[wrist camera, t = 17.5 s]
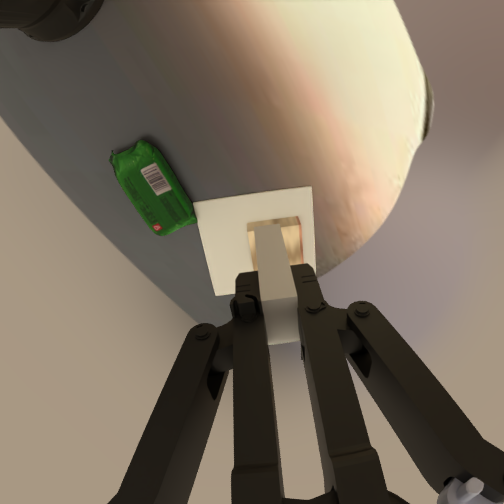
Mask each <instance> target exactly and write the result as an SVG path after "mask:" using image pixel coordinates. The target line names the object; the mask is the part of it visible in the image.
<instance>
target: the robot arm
mask: <svg viewBox="0 0 504 504" xmlns="http://www.w3.org/2000/svg"><path fill="white" fill-rule="evenodd" d="M103 1H104V0H0V28H18V29H19V30H21V31H23V32H24V33H25V34H26V35H27V36H28V37H30V38H32V39H34V40H38V41H47V42H54V41H60V40H63V39H66V38H68V37H70V36H72V35H74V34H76V33H77V32H79V31H80V30H81V29H82V28H84V27H85V26H86V25H87V24H88V23H89V22H90V21H91V20H92V18H93V17H94V16H95V15H96V13H97V12H98V10H99V9H100V7H101V5H102V3H103ZM254 235H255V245H256V256H257V266H258V271H251V272H243V273H239V274H238V276H237V277H236V279H235V297H234V298H233V299H232V300H231V302H230V308H231V312H232V317H233V319H232V320H231V321H229V322H228V323H227V324H224V325H222V326H219V327H217V328H216V327H215V326H214V325H212V324H209V323H201V324H198V325H196V326H194V327H193V328H191V329H190V331H189V332H188V334H187V336H186V338H185V341H184V343H183V345H182V347H181V349H180V352H179V354H178V356H177V358H176V361H175V363H174V365H173V367H172V369H171V372H170V374H169V376H168V378H167V381H166V383H165V385H164V387H163V389H162V392H161V394H160V396H159V398H158V401H157V403H156V405H155V407H154V410H153V412H152V414H151V416H150V419H149V421H148V423H147V425H146V428H145V430H144V432H143V435H142V437H141V439H140V442H139V444H138V446H137V449H136V451H135V453H134V455H133V458H132V460H131V463H130V465H129V467H128V470H127V472H126V474H125V477H124V479H123V481H122V484H121V487H120V489H119V491H118V493H117V494H116V495H115V496H114V497H113V498H112V499H111V501H110V502H109V503H108V504H187V502H188V499H189V496H190V493H191V490H192V487H193V484H194V481H195V478H196V474H197V472H198V469H199V465H200V462H201V459H202V456H203V453H204V450H205V447H206V444H207V440H208V437H209V434H210V431H211V428H212V425H213V421H214V418H215V415H216V412H217V409H218V406H219V402H220V399H221V396H222V393H223V390H224V386H225V383H226V380H227V376H228V374H229V370H230V369H233V407H234V408H233V417H234V468H233V470H232V474H231V497H232V499H231V500H232V504H409V503H408V502H406V501H405V500H404V499H402V498H400V497H399V496H398V495H396V494H394V493H392V492H390V491H388V490H387V487H386V484H385V479H384V475H383V471H382V468H381V464H380V460H379V456H378V454H377V452H376V450H375V449H374V448H373V447H372V446H371V444H370V441H369V437H368V433H367V429H366V426H365V422H364V419H363V415H362V411H361V408H360V404H359V401H358V397H357V394H356V390H355V387H354V384H353V380H352V377H351V374H350V370H349V367H348V364H347V360H348V361H349V363H350V364H351V366H352V367H353V369H354V370H355V372H356V373H357V375H358V376H359V378H360V379H361V381H362V382H363V384H364V385H365V387H366V388H367V390H368V392H369V393H370V394H371V396H372V398H373V399H374V401H375V402H376V404H377V405H378V407H379V408H380V410H381V411H382V413H383V415H384V416H385V417H386V419H387V421H388V422H389V424H390V425H391V427H392V428H393V430H394V432H395V433H396V435H397V436H398V438H399V439H400V441H401V442H402V444H403V446H404V447H405V449H406V450H407V452H408V453H409V455H410V457H411V458H412V460H413V461H414V463H415V464H416V466H417V468H418V469H419V471H420V472H421V474H422V475H423V477H424V478H425V479H426V481H427V482H428V484H429V485H430V486H431V487H432V488H433V489H434V490H435V491H436V492H437V493H438V494H439V496H438V500H437V504H503V503H504V452H503V451H502V450H500V449H499V448H497V447H495V446H494V445H492V444H491V443H489V442H487V441H486V440H484V439H483V438H482V436H481V435H480V434H479V432H478V431H477V430H476V428H475V427H474V426H473V425H472V423H471V422H470V420H469V419H468V418H467V417H466V415H465V414H464V413H463V411H462V410H461V409H460V407H459V406H458V405H457V404H456V402H455V401H454V400H453V399H452V397H451V396H450V395H449V394H448V392H447V391H446V390H445V389H444V388H443V386H442V385H441V384H440V382H439V381H438V380H437V379H436V377H435V376H434V375H433V374H432V373H431V371H430V370H429V369H428V368H427V366H426V365H425V364H424V363H423V362H422V360H421V359H420V358H419V357H418V356H417V354H416V353H415V352H414V351H413V350H412V348H411V347H410V346H409V345H408V344H407V342H406V341H405V340H404V339H403V338H402V337H401V336H400V334H399V333H398V332H397V331H396V330H395V328H394V327H393V326H392V325H391V324H390V323H389V322H388V320H387V319H386V318H385V317H384V316H383V315H382V314H381V312H380V311H379V310H378V309H377V308H376V307H375V306H374V305H373V304H372V303H369V302H367V301H357V302H354V303H352V304H350V305H349V307H348V309H339V308H334V307H332V306H330V305H328V303H327V302H326V301H325V300H324V298H323V295H322V292H321V289H320V286H319V283H318V281H317V277H316V274H315V271H314V269H313V267H311V266H310V265H309V264H308V263H304V264H297V265H290V263H289V259H288V255H287V251H286V247H285V243H284V239H283V235H282V231H281V227H280V224H272V225H265V226H257V227H254ZM294 341H301V359H302V360H303V362H304V368H305V373H306V378H307V384H308V389H309V394H310V400H311V405H312V411H313V417H314V422H315V428H316V433H317V439H318V445H319V451H320V457H321V463H322V469H323V475H324V487H325V494H323V495H321V496H318V497H316V498H313V499H310V500H300V499H290V498H285V495H284V487H283V478H282V468H281V458H280V449H279V439H278V429H277V420H276V411H275V401H274V392H273V382H272V374H271V364H270V354H269V348H268V345H273V344H281V343H288V342H294ZM346 358H347V360H346Z"/></svg>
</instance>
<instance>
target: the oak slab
mask: <svg viewBox="0 0 504 504" xmlns="http://www.w3.org/2000/svg"><path fill="white" fill-rule="evenodd" d="M272 224H280V227H281V231H282V235H283V239H284V243H285V247H286V251H287V255H288V259H289V263H290V265H297V264H304V259H303V243H302V228H301V223H300V220H299V217H298V216H294V217H287V218H279V219H272V220H264V221H257V222H250V223H247V233H248V239H249V245H250V251H251V257H252V263H253V270H254V271H258V266H257V256H256V245H255V235H254V227H257V226H265V225H272Z"/></svg>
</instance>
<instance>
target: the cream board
mask: <svg viewBox="0 0 504 504" xmlns="http://www.w3.org/2000/svg"><path fill="white" fill-rule="evenodd" d="M193 205H194V210H195V214H196V217H197V220H198V222H197V223H198V227H199V231H200V235H201V239H202V243H203V248H204V252H205V256H206V260H207V264H208V268H209V272H210V276H211V280H212V283H213V287H214V291H215V295H216V296H219V295H227V294H235V279H236V277H237V276H238V274H239V273H243V272H251V271H254V270H253V263H252V257H251V251H250V245H249V239H248V233H247V223H250V222H257V221H264V220H272V219H279V218H287V217H294V216H298V217H299V220H300V223H301V228H302V243H303V259H304V263H308V264H309V265H310V266H311V267H313V269H314V271H315V274H316V265H315V239H314V219H313V201H312V186H304V187H295V188H287V189H279V190H272V191H264V192H257V193H250V194H243V195H236V196H229V197H223V198H216V199H210V200H203V201H197V202H193Z"/></svg>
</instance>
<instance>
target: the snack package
mask: <svg viewBox="0 0 504 504" xmlns="http://www.w3.org/2000/svg"><path fill="white" fill-rule="evenodd" d="M109 162H110V163H111V164H112V166H113V168H114V173H115V176H116V178H117V180H118V182H119V184H120V185H121V187H122V189H123V190H124V192H125V193H126V195H127V196H128V198H129V199H130V201H131V202H132V204H133V205H134V206H135V208H136V209H137V211H138V212H139V214H140V215H141V217H142V218H143V219H144V221H145V222H146V224H147V225H148V226H149V228H150V229H151V230H152V231H153V232H154V233H155V234H157V235H160V236H165V235H168V234H170V233H172V232H174V231H176V230H178V229H179V228H181V227H184V226H186V225H190V224H194V223H197V222H198V220H197V217H196V215H195V213H194V209H193V206H192V203H191V201H190V200H189V198H188V197H187V195H186V194H185V192H184V190H183V189H182V187H181V186H180V184H179V182H178V180H177V178H176V176H175V174H174V173H173V171H172V170H171V168H170V166H169V165H168V164H167V162H166V161H165V159H164V158H163V156H162V154H161V153H160V152H159V150H158V149H157V148H155V147H154V146H152V145H151V144H149V143H148V142H146V141H144V140H139V141H137V142H136V143H135V145H134V146H133V147H131V148H130V149H129V150H126V151H124V152H121V153H119V154H114V153H113V151H112V154H111V156H110V159H109Z"/></svg>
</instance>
